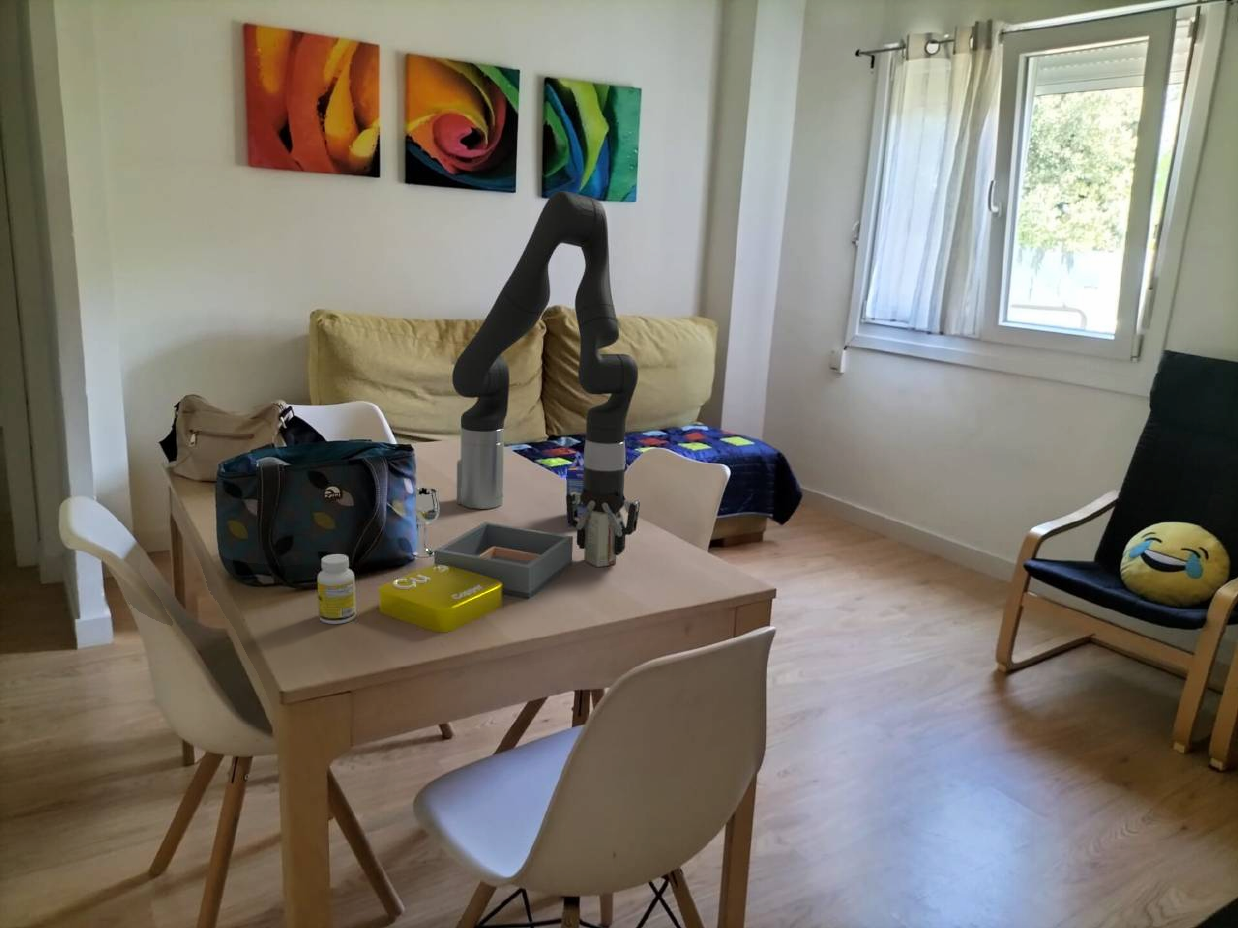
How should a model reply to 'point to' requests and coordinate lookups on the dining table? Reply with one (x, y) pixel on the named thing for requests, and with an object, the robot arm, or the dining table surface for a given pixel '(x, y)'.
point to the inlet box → (510, 556)
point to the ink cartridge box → (576, 480)
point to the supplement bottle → (336, 590)
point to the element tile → (440, 597)
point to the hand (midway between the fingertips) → (600, 550)
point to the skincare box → (599, 540)
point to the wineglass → (426, 514)
